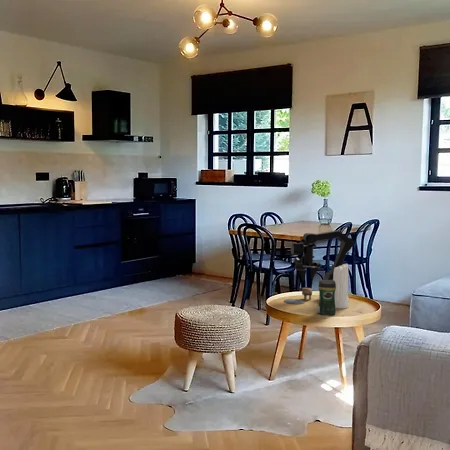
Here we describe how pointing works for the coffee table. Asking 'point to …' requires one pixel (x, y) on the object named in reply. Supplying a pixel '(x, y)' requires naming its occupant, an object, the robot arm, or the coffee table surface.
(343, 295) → the decorative vase
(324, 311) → the coffee jar
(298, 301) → the felt mat
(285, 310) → the coffee table surface
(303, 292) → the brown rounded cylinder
